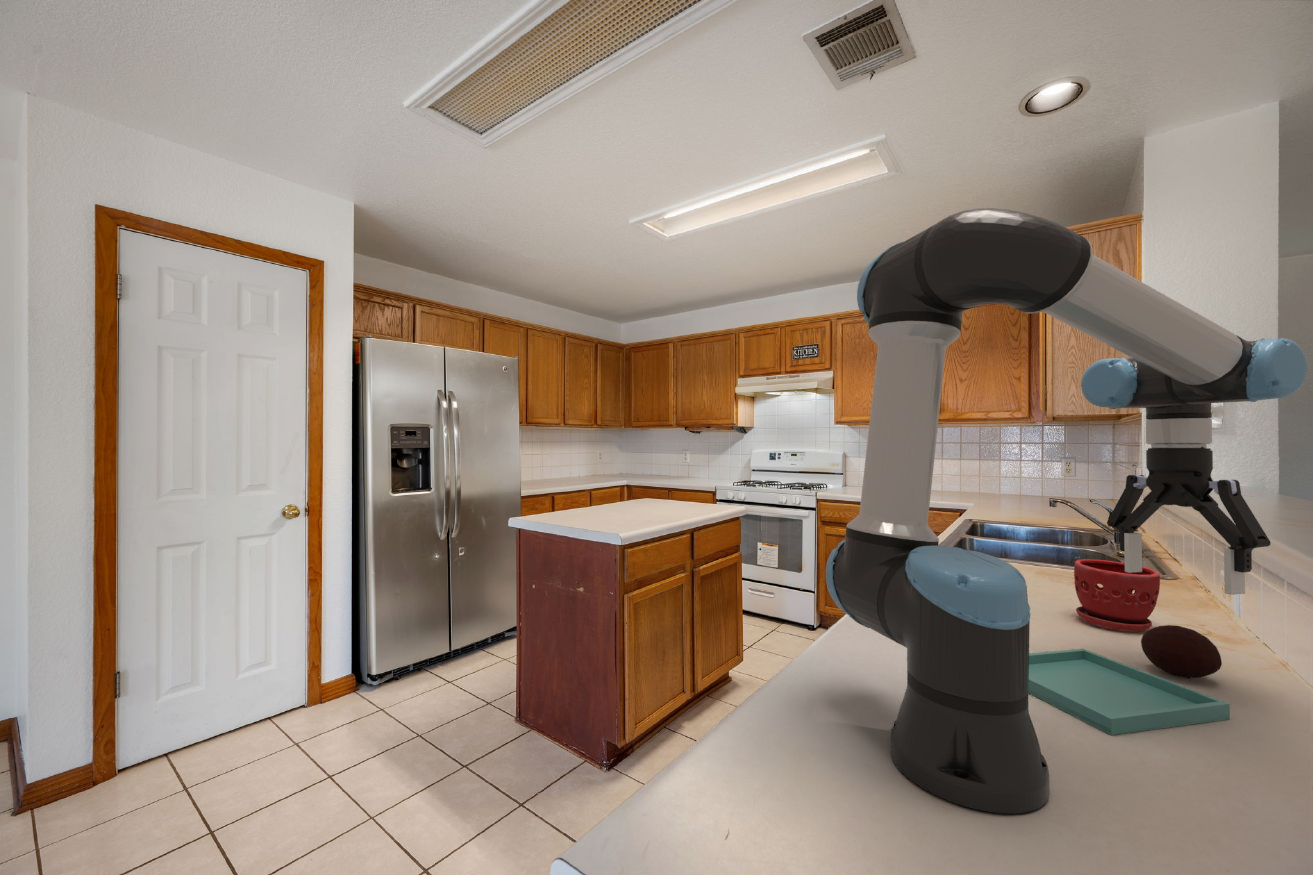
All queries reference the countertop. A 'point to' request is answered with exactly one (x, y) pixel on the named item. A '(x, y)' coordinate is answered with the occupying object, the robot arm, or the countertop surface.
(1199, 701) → the teal tray
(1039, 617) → the countertop surface
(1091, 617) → the plant pot
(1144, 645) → the dark brown oval
